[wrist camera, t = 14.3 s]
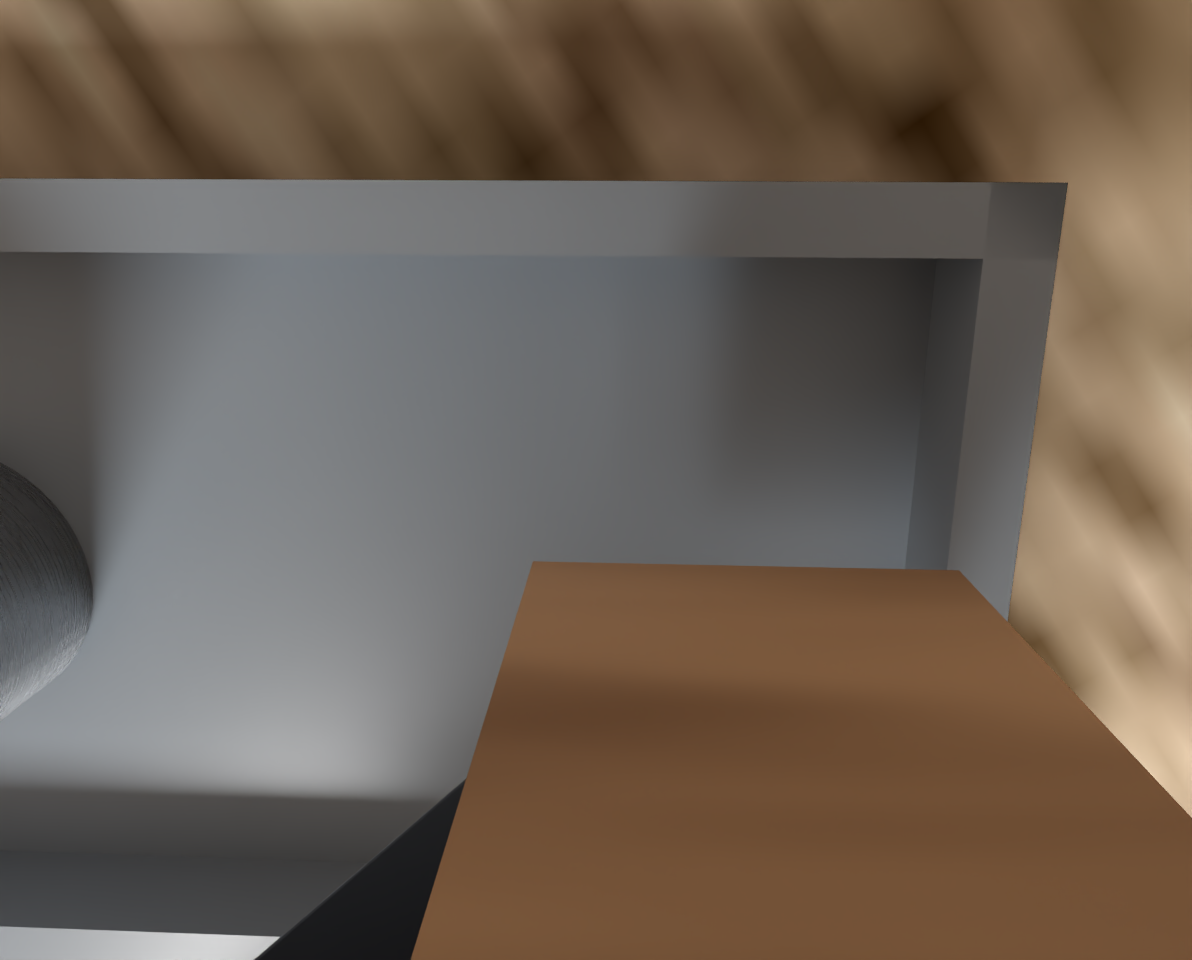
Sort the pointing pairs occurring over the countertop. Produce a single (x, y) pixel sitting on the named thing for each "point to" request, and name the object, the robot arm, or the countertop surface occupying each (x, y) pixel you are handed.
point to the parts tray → (445, 479)
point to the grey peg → (37, 591)
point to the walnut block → (796, 782)
